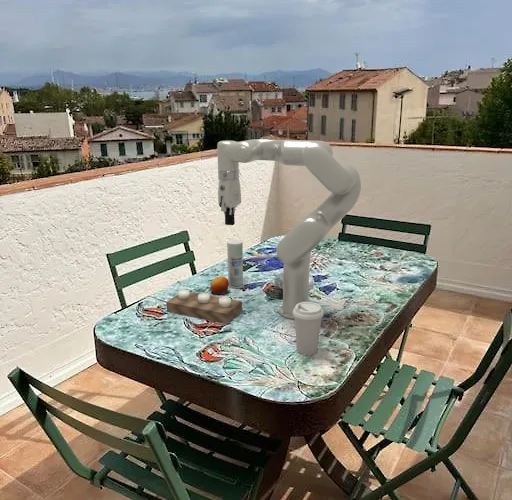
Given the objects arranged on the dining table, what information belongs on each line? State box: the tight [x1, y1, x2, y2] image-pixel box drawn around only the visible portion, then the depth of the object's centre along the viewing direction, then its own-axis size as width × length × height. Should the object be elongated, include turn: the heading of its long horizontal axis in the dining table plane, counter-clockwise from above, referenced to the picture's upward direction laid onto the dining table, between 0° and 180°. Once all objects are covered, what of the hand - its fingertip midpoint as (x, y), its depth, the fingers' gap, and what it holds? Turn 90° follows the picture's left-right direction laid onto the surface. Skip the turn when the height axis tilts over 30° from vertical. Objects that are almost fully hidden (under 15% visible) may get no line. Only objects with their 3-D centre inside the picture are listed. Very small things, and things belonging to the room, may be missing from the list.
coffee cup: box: [293, 301, 324, 356], centre depth 143 cm, size 10×10×15 cm
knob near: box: [219, 296, 231, 308], centre depth 169 cm, size 4×4×5 cm
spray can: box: [226, 239, 244, 290], centre depth 195 cm, size 6×6×20 cm
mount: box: [165, 291, 243, 325], centre depth 173 cm, size 26×12×4 cm, turn 65°
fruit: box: [209, 275, 229, 295], centre depth 191 cm, size 8×8×8 cm
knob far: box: [177, 289, 190, 300], centre depth 176 cm, size 4×4×5 cm
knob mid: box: [198, 292, 211, 304], centre depth 173 cm, size 4×4×5 cm
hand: (229, 224), depth 171 cm, fingers closed
